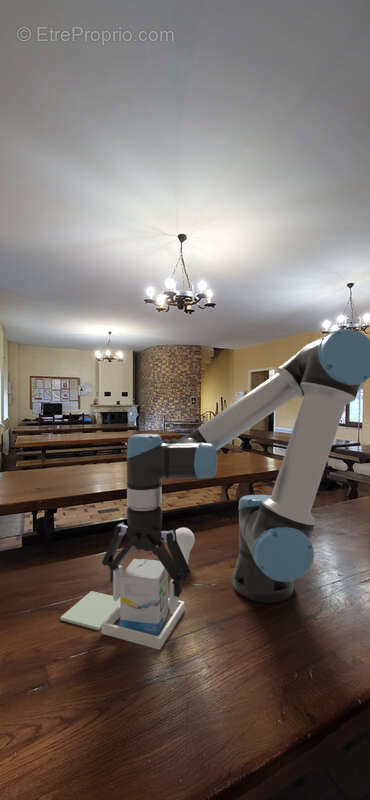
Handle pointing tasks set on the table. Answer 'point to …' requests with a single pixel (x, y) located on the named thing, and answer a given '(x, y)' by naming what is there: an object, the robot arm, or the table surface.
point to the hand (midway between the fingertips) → (145, 603)
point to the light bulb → (185, 541)
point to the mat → (91, 610)
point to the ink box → (144, 596)
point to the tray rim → (140, 636)
